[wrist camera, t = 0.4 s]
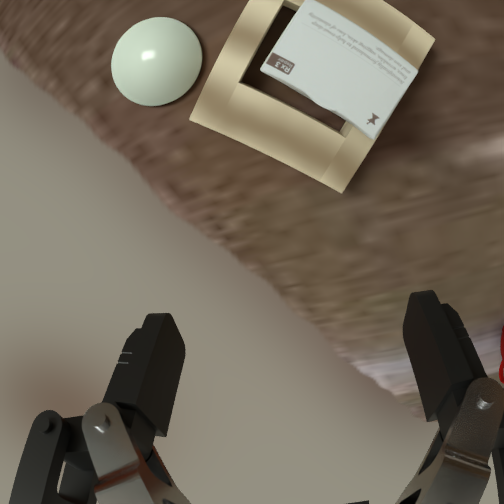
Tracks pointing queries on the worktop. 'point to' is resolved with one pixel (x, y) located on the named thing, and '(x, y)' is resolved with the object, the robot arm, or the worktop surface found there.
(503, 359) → the ceramic cup
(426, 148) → the worktop surface
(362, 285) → the worktop surface
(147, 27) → the pale green disc
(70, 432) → the robot arm
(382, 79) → the skincare box
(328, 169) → the pocket board
